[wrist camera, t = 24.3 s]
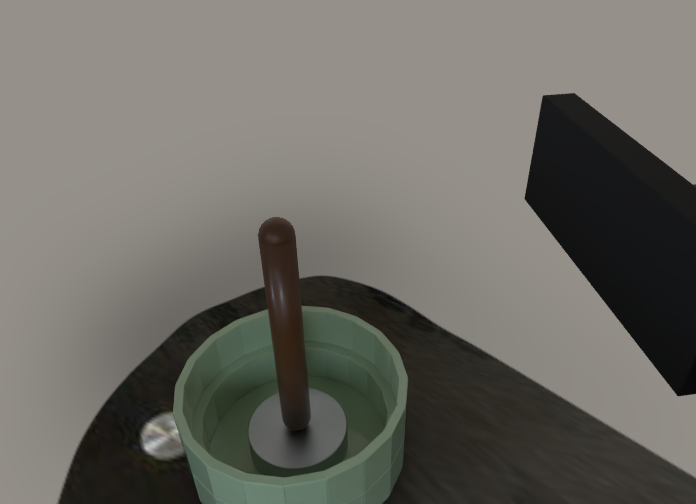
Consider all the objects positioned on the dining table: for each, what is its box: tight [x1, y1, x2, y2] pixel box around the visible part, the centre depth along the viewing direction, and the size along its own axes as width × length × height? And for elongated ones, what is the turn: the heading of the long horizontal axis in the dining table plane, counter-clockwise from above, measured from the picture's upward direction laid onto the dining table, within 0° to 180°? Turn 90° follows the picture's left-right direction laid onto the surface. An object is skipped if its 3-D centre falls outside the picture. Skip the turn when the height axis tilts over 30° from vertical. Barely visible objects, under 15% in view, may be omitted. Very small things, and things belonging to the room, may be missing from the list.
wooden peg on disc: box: [248, 217, 348, 477], centre depth 37 cm, size 7×7×19 cm
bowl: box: [173, 306, 408, 504], centre depth 41 cm, size 15×15×7 cm
